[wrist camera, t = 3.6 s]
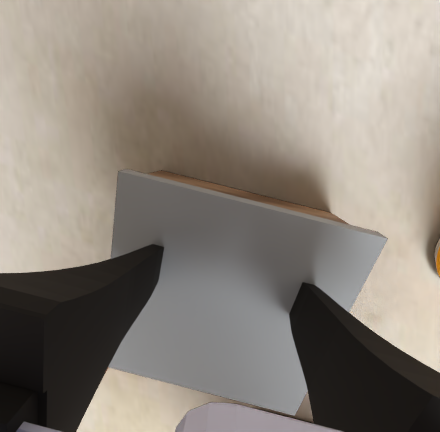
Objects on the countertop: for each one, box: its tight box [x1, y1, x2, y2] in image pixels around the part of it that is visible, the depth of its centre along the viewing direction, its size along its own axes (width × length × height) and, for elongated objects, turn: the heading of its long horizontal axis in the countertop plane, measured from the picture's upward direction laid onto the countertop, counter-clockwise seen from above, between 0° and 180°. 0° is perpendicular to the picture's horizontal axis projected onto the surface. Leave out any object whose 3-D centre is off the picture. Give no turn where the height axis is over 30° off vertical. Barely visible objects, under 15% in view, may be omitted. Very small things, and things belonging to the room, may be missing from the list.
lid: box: [108, 169, 388, 416], centre depth 13 cm, size 12×12×1 cm
